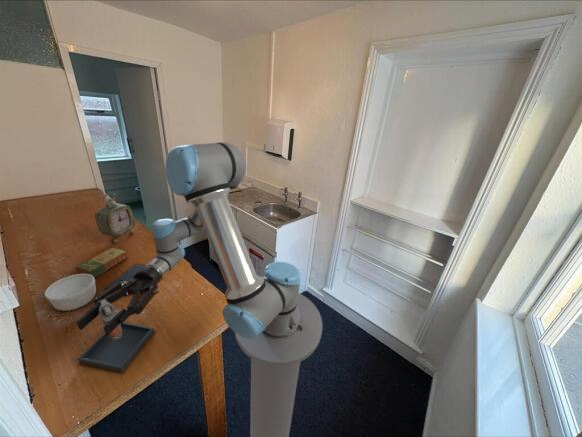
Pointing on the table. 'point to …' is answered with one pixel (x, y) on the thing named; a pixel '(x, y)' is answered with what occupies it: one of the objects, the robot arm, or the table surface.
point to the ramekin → (71, 292)
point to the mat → (127, 275)
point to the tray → (117, 348)
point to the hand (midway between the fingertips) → (92, 328)
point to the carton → (101, 262)
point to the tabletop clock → (114, 218)
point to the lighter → (109, 318)
